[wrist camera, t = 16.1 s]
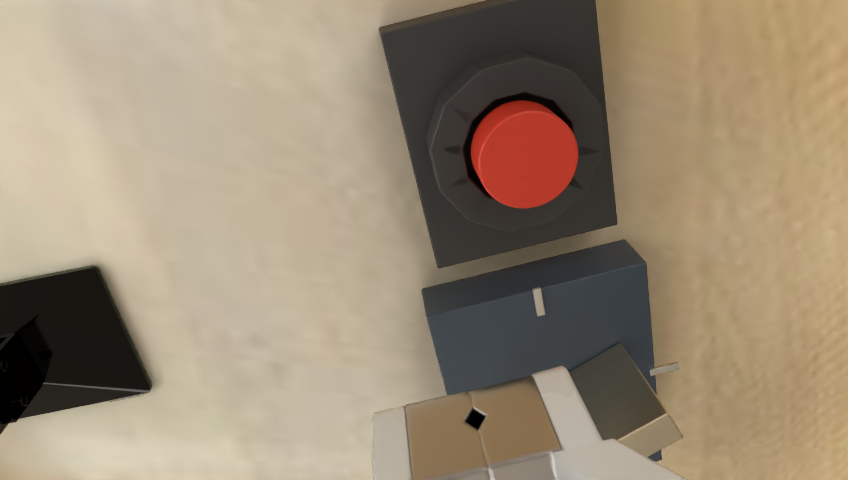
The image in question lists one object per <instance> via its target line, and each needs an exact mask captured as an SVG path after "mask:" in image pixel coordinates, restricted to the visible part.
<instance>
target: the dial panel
mask: <svg viewBox="0 0 848 480" xmlns="http://www.w3.org/2000/svg"><path fill="white" fill-rule="evenodd" d="M422 295H423V301H424V306H425V311H426V317H427V321H428V324H429V328H430V332H431V336H432V339H433V343H434V347H435V351H436V355H437V358H438V362H439V366H440V370H441V373H442V377H443V381H444V385H445V388H446V392H447V396H448V395H452V394H456V393H461V392H465V391H470V390H474V389H478V388H482V387H486V386H490V385H493V384H497V383H501V382H505V381H509V380H513V379H517V378H521V377H525V376H528V375H531V374H533V373H537V372H540V371H544V370H548V369H551V368H555V367H559V366H564V367H565V368H566V369H567V370H568V372H570V371H572V370H574V369H576V368H577V367H579V366H581V365H582V364H584V363H586V362H588V361H589V360H591V359H593V358H595V357H596V356H598V355H600V354H601V353H603V352H605V351H607V350H608V349H610V348H612V347H614V346H615V345H617V344H619V343H621V344H622V345H623V346H624V348H625V349H626V351H627V352H628V354H629V355H630V357H631V358H632V360H633V361H634V363H635V364H636V366H637V367H638V369H639V370H640V371H641V373H642V374H643V376H644V377H645V379H646V380H647V382H648V383H649V385H650V386H651V388H652V389H653V391H654V392H655V394H656V395H657V392H656V380H655V375H657V374H661V373H665V372H669V371H673V370H678V369H679V363H678V362H673V363H669V364H665V365H661V366H657V367H654V354H653V342H652V329H651V316H650V304H649V291H648V278H647V266H646V262H645V261H644V260H643V259H642V258H641V256H640V255H639V254H638V253H637V252H636V251H635V250H634V249H633V248H632V247H631V246H630V245H629V244H628V243H627V241H626V240H620V241H616V242H612V243H608V244H604V245H600V246H596V247H592V248H588V249H584V250H580V251H575V252H571V253H567V254H563V255H559V256H555V257H551V258H547V259H543V260H539V261H535V262H531V263H527V264H523V265H519V266H515V267H510V268H506V269H502V270H498V271H494V272H490V273H486V274H482V275H478V276H474V277H470V278H466V279H462V280H458V281H454V282H449V283H445V284H441V285H437V286H433V287H429V288H425V289H422ZM648 458H649V459H651V460H653V461H659V460H662V455H661V450H659V451H657V452H656V453H654V454H652V455H650V456H648Z"/></svg>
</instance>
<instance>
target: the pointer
mask: <svg viewBox="0 0 848 480" xmlns="http://www.w3.org/2000/svg"><path fill="white" fill-rule="evenodd" d="M569 374H570V376H571V378H572V380H573V382H574V384H575V386H576V388H577V390H578V392H579V394H580V396H581V398H582V400H583V402H584V404H585V406H586V408H587V410H588V412H589V414H590V416H591V418H592V420H593V422H594V424H595V426H596V428H597V430H598V432H599V434H600V436H601V438H602V440H608V439H612V438H613V439H615V440H617V441H619V442H620V443H622V444H624V445H626V446H628V447H629V448H631V449H633V450H635V451H637V452H639V453H640V454H642V455H644V456H646V457H648V456H650V455H652V454H654V453H656V452H657V451H659V450H661V449H663V448H665V447H667V446H668V445H670V444H672V443H674V442H676V441H678V440H680V439H681V438H683V435H682V434H681V432H680V430H679V429H678V427H677V426H676V424H675V422H674V421H673V419H672V418H671V416H670V415H669V413H668V412H667V410H666V409H665V407H664V406H663V404H662V403H661V401H660V400H659V398H658V397H657V395H656V394H655V392H654V391H653V389H652V388H651V386H650V385H649V383H648V382H647V380H646V379H645V377H644V376H643V374H642V373H641V371H640V370H639V369H638V367H637V366H636V364H635V363H634V361H633V360H632V358H631V357H630V355H629V354H628V352H627V351H626V349H625V348H624V346H623V345H622V344H621V343H619V344H617V345H615V346H614V347H612V348H610V349H608V350H607V351H605V352H603V353H601V354H600V355H598V356H596V357H595V358H593V359H591V360H589V361H588V362H586V363H584V364H582V365H581V366H579V367H577V368H576V369H574V370H572V371H570V372H569Z"/></svg>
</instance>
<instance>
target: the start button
mask: <svg viewBox="0 0 848 480" xmlns="http://www.w3.org/2000/svg"><path fill="white" fill-rule="evenodd" d="M471 160H472V163H473V167H474V169H475V171H476V173H477V175H478V177H479V179H480V180H481V182H482V184H483V186H484V188H485V189H486V191H487V192H488V193H489V194H490V195H491V196H492V197H493V198H494V199H495V200H497V201H498V202H500V203H502V204H504V205H507V206H510V207H514V208H532V207H537V206H540V205H543V204H545V203H548V202H549V201H551V200H553V199H554V198H556V197H557V196H558V195H559V194H561V193H562V192H563V191H564V189H565V188H566V187H567V186H568V184H569V183H570V181H571V180H572V178H573V176H574V173H575V171H576V168H577V163H578V146H577V141H576V139H575V136H574V134H573V132H572V130H571V129H570V128H569V126H568V125H567V124H566V123H565V122H564V121H563V120H562V119H560V118H559V117H558V116H557V115H556V114H554V113H553V112H552V111H551V110H549V109H548V108H547V107H545V106H543V105H541V104H539V103H536V102H532V101H525V100H519V101H512V102H508V103H505V104H503V105H500V106H498V107H497V108H495V109H493V110H492V111H491V112H490V113H488V114H487V115H486V116H485V117H484V118H483V119H482V121H481V122H480V123H479V125H478V127H477V128H476V130H475V133H474V135H473V139H472V143H471Z"/></svg>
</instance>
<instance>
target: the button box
mask: <svg viewBox="0 0 848 480" xmlns="http://www.w3.org/2000/svg"><path fill="white" fill-rule="evenodd" d="M379 32H380V36H381V40H382V44H383V48H384V52H385V56H386V60H387V64H388V68H389V72H390V76H391V80H392V85H393V89H394V93H395V97H396V101H397V105H398V109H399V113H400V117H401V121H402V125H403V129H404V133H405V137H406V141H407V145H408V150H409V154H410V158H411V162H412V166H413V170H414V174H415V178H416V182H417V186H418V190H419V194H420V198H421V202H422V206H423V211H424V215H425V219H426V223H427V227H428V231H429V235H430V239H431V243H432V247H433V251H434V255H435V259H436V263H437V267H438V268H442V267H446V266H451V265H455V264H459V263H463V262H467V261H471V260H475V259H479V258H483V257H487V256H491V255H495V254H499V253H503V252H507V251H511V250H516V249H520V248H524V247H528V246H532V245H536V244H540V243H544V242H548V241H552V240H556V239H560V238H564V237H568V236H572V235H576V234H581V233H585V232H589V231H593V230H597V229H601V228H605V227H609V226H613V225H617V214H616V204H615V194H614V184H613V174H612V164H611V154H610V144H609V134H608V123H607V113H606V103H605V93H604V83H603V73H602V63H601V53H600V43H599V33H598V22H597V12H596V2H595V0H487V1H483V2H479V3H475V4H471V5H467V6H463V7H459V8H455V9H451V10H447V11H443V12H439V13H435V14H431V15H427V16H423V17H419V18H415V19H411V20H407V21H403V22H399V23H395V24H391V25H387V26H383V27H380V28H379ZM519 100H525V101H532V102H536V103H539V104H541V105H543V106H545V107H547V108H548V109H549V110H551V111H552V112H553V113H554V114H556V115H557V116H558V117H559V118H560V119H562V120H563V121H564V122H565V123H566V124H567V125H568V126H569V128H570V129H571V130H572V132H573V134H574V136H575V139H576V141H577V146H578V163H577V168H576V171H575V173H574V176H573V178H572V180H571V181H570V183H569V184H568V186H567V187H566V188H565V189H564V191H563V192H562V193H561V194H559V195H558V196H557V197H556V198H554V199H553V200H551V201H549V202H548V203H545V204H543V205H540V206H537V207H532V208H514V207H510V206H507V205H504V204H502V203H500V202H498V201H497V200H495V199H494V198H493V197H492V196H491V195H490V194H489V193H488V192H487V191H486V189H485V188H484V186H483V184H482V182H481V180H480V179H479V177H478V175H477V173H476V171H475V169H474V167H473V163H472V160H471V143H472V139H473V135H474V133H475V130H476V128H477V127H478V125H479V123H480V122H481V121H482V119H483V118H484V117H485V116H486V115H487V114H488V113H490V112H491V111H492V110H493V109H495V108H497V107H498V106H500V105H503V104H505V103H508V102H512V101H519Z"/></svg>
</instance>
